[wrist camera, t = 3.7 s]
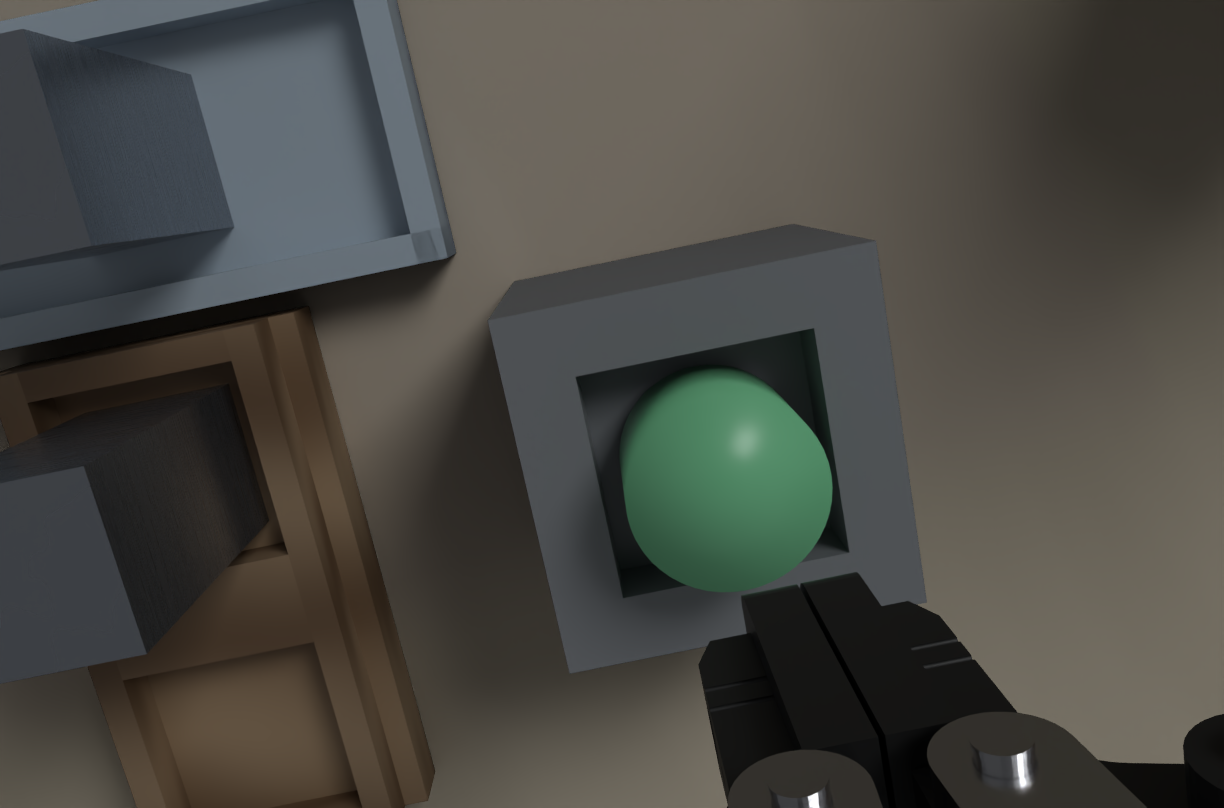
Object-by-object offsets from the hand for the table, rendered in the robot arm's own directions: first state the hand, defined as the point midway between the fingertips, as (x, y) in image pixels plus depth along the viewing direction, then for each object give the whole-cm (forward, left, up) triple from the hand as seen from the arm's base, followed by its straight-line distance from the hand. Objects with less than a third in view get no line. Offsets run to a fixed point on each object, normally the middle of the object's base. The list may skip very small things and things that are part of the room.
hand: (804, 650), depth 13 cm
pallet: (+3, -14, -17) cm, 22 cm away
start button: (0, 0, -10) cm, 10 cm away
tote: (-9, -13, -17) cm, 23 cm away
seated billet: (-1, -14, -15) cm, 21 cm away
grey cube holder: (0, 0, -17) cm, 17 cm away
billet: (-9, -13, -16) cm, 22 cm away
